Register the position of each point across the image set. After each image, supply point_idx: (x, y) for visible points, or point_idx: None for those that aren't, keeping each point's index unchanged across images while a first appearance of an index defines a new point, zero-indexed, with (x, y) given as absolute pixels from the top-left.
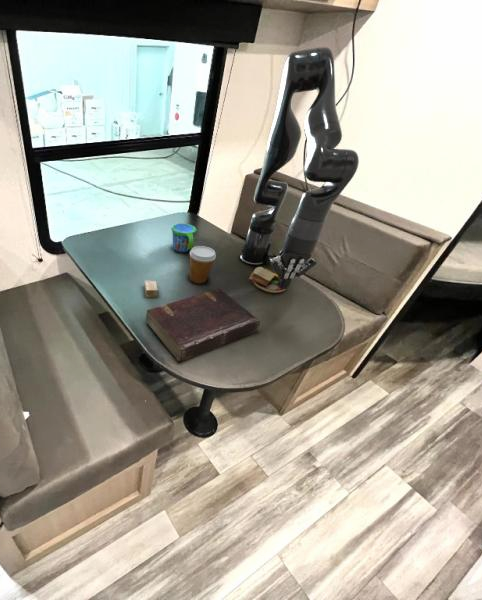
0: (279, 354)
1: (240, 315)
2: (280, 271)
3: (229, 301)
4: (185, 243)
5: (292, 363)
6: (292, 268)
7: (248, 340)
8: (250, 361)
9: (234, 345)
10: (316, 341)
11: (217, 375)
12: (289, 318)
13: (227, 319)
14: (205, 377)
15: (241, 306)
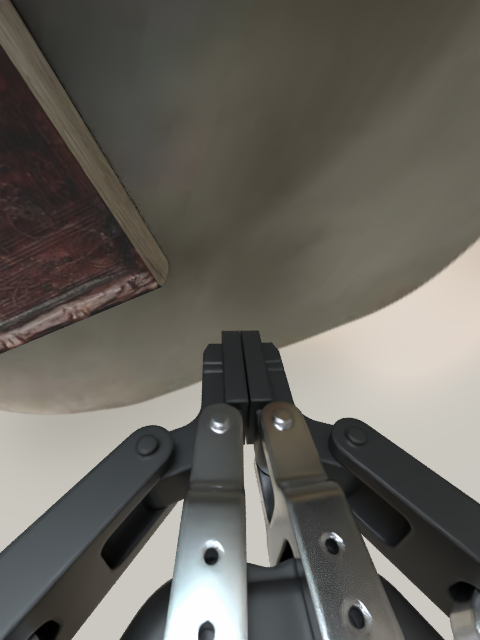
0: None
1: (79, 256)
2: (130, 549)
3: (16, 133)
4: None
5: None
6: (275, 556)
7: None
8: (122, 364)
9: None
10: (346, 303)
11: (34, 396)
12: (341, 186)
13: (16, 280)
14: (4, 401)
15: (91, 186)
